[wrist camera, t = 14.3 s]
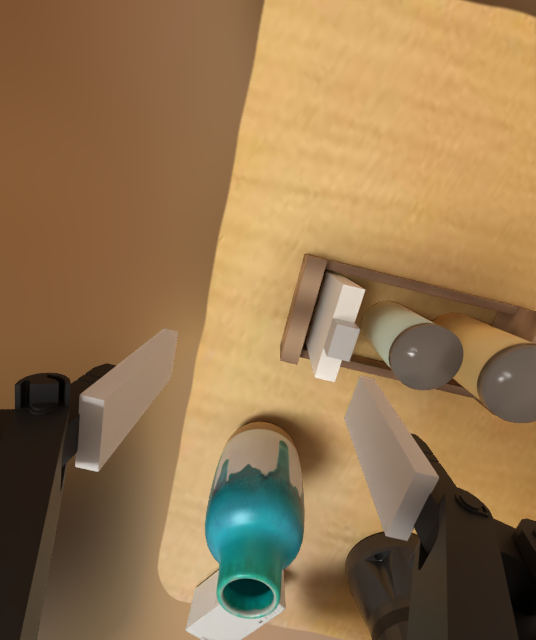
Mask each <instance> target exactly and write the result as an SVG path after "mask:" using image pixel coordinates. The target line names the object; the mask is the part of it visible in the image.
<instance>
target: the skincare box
mask: <svg viewBox="0 0 536 640" xmlns="http://www.w3.org/2000/svg"><path fill="white" fill-rule="evenodd" d="M218 573H219V570H218V571H217V572H215V573H214V574H213V575H212V576H211V577H209V578H208V579H207V580H205V581H204V582H203V583H202V584H200V585H199V586H198V587H197V588H195V591H194V596H193V600H192V604H191V609H190V613H189V617H188V622H187V626H186V631H188V632H189V633H191V634H193V635H195V636H196V637H198V638H200V639H201V640H241V639H243V638H244V637H246V636H247V635H249V634H250V633H252V632H253V631H255V630H256V629H258V628H259V627H261V626H262V625H264V624H265V623H267V622H268V621H269V620H271V619H272V618H274V617H275V616H277V615H278V614H280V613H281V612H283V611H284V609H285V588H284V569H283V570H282V580H281V597H280V602H279V604H278V606H277V608H276V609H275V610H274V611H273V612H272V613H270V614H269V615H267V616H264V617H261V618H256V619H245V618H240V617H237V616H234V615H232V614H230V613H229V612H227V611H226V610H225V609H223V607H222V606H221V605H220V604H219V602H218V599H217V594H216V590H217V581H218Z"/></svg>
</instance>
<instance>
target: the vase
mask: <svg viewBox="0 0 536 640" xmlns="http://www.w3.org/2000/svg"><path fill="white" fill-rule="evenodd" d="M303 533H304V493H303V482H302V473H301V466H300V461H299V457H298V453H297V449H296V447H295V444H294V442H293V440H292V439H291V438H290V436H289V435H288V434H287V433H286V432H285V431H284V430H283V429H281V428H280V427H278V426H276V425H274V424H271V423H267V422H253V423H249V424H247V425H245V426H243V427H241V428H239V429H238V430H237V431H236V432H235V433H234V434H233V435H232V436H231V437H230V439H229V440H228V442H227V443H226V445H225V448H224V450H223V452H222V455H221V457H220V460H219V463H218V466H217V469H216V472H215V476H214V480H213V484H212V488H211V492H210V496H209V501H208V506H207V512H206V520H205V536H206V541H207V545H208V548H209V550H210V552H211V554H212V555H213V557H214V558H215V560H216V561H217V562H218V563H219V573H218V581H217V590H216V594H217V599H218V602H219V604H220V605H221V606H222V607H223V609H225V610H226V611H227V612H229V613H230V614H232V615H234V616H237V617H240V618H245V619H256V618H261V617H264V616H267V615H269V614H270V613H272V612H273V611H274V610H275V609H276V608H277V606H278V604H279V602H280V597H281V580H282V570H283V569H285V568H286V567H287V566H289V565H290V564H291V563H292V561H293V560H294V559H295V558H296V556H297V554H298V552H299V550H300V547H301V544H302V540H303Z"/></svg>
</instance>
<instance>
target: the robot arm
mask: <svg viewBox="0 0 536 640" xmlns="http://www.w3.org/2000/svg"><path fill="white" fill-rule="evenodd" d="M177 336H178V332H176V331H172V330H168V329H163V330H161V331H160V332H159V333H158V334H156V335H155V336H154V337H152V338H151V339H150V340H149V341H147V342H146V343H145V344H144V345H142V346H141V347H140V348H138V349H137V350H136V351H135V352H133V354H131V355H130V356H128V357H127V358H126V359H124V360H123V361H122V362H121V363H119V364H118V365H117V366H116V365H111V364H104V365H100V366H97V367H95V368H93V369H92V370H90V371H89V372H87V373H86V374H85V375H83V376H82V377H80V378H79V379H78V380H77V381H74V382H73V383H70V379H69V378H68V377H66V376H65V375H62V374H58V373H40V374H34V375H30V376H27V377H25V378H23V379H21V380H19V381H18V382H17V383H16V384H15V409H10V410H9V409H6V410H5V409H0V640H37V636H38V631H39V625H40V619H41V614H42V607H43V602H44V596H45V590H46V584H47V579H48V573H49V567H50V562H51V556H52V550H53V544H54V539H55V533H56V527H57V521H58V515H59V510H60V503H61V498H62V492H63V487H64V480H65V475H66V463H67V462H68V461H69V460H70V459H71V458H72V456H74V454H75V453H76V463H75V467H79V468H83V469H88V470H92V471H97V472H98V471H99V470H100V469H101V468H102V466H103V465H104V464H105V462H106V461H107V460H108V459H109V457H110V456H111V455H112V453H113V452H114V451H115V450H116V448H117V447H118V446H119V444H120V443H121V442H122V440H123V439H124V438H125V437H126V435H127V434H128V433H129V431H130V430H131V429H132V427H133V426H134V425H135V424H136V422H137V421H138V420H139V419H140V417H141V416H142V415H143V413H144V412H145V411H146V410H147V408H148V407H149V406H150V404H151V403H152V402H153V401H154V399H155V398H156V397H157V395H158V394H159V393H160V391H161V390H162V389H163V388H164V386H165V385H166V384H167V383H168V381H169V380H170V378H171V373H172V368H173V362H174V355H175V349H176V342H177ZM344 419H345V422H346V425H347V428H348V431H349V433H350V436H351V439H352V442H353V445H354V448H355V450H356V453H357V456H358V459H359V462H360V465H361V467H362V470H363V473H364V476H365V479H366V482H367V484H368V487H369V490H370V493H371V496H372V499H373V501H374V504H375V507H376V510H377V513H378V516H379V518H380V521H381V524H382V527H383V530H384V533H380V534H376V535H373V536H370V537H368V538H366V539H364V540H363V541H361V542H360V543H358V544H357V545H356V546H355V547H354V548H353V549H352V550H351V552H350V553H349V555H348V557H347V560H346V564H345V571H346V576H347V581H348V586H349V589H350V592H351V594H352V596H353V598H354V600H355V602H356V604H357V606H358V608H359V610H360V612H361V614H362V617H363V619H364V621H365V623H366V625H367V627H368V629H369V631H370V634H371V637H372V640H536V521H533V520H530V519H522V520H521V521H520V523H519V525H518V526H517V528H516V529H515V528H513V527H511V526H509V525H507V524H504V523H502V522H500V521H498V520H496V519H494V518H493V517H492V515H491V512H490V511H489V509H488V508H487V507H486V506H485V505H484V504H483V503H482V502H481V501H480V500H479V499H478V498H476V497H475V496H474V495H472V494H470V493H469V492H467V491H465V490H463V489H460V488H457V487H456V485H455V484H454V483H453V481H452V480H451V478H450V477H449V475H448V474H447V473H446V471H445V470H444V468H443V467H442V466H441V464H440V463H438V462H439V461H438V460H437V458H436V457H435V456H434V455H433V453H432V451H431V450H430V449H429V447H428V446H427V444H426V443H425V442H423V441H422V440H421V439H420V438H419V437H418V436H417V435H415V434H410V432H409V431H408V429H407V428H406V426H405V425H404V423H403V422H402V420H401V419H400V417H399V416H398V414H397V413H396V411H395V410H394V408H393V407H392V405H391V404H390V402H389V401H388V399H387V398H386V396H385V394H384V393H383V391H382V390H381V388H380V387H379V385H378V384H377V382H376V381H375V379H374V378H370V377H366V376H361V375H360V377H359V379H358V382H357V385H356V388H355V390H354V393H353V396H352V399H351V402H350V404H349V407H348V410H347V413H346V415H345V418H344ZM414 528H415V530H416V532H417V534H418V536H416V535H413V534H411V533H412V531H413V529H414Z"/></svg>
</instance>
